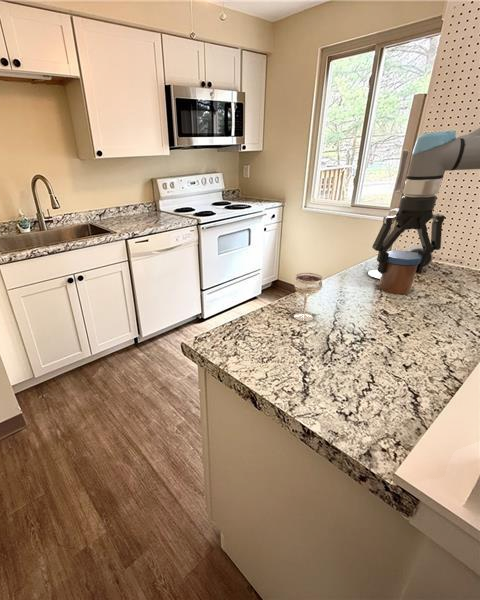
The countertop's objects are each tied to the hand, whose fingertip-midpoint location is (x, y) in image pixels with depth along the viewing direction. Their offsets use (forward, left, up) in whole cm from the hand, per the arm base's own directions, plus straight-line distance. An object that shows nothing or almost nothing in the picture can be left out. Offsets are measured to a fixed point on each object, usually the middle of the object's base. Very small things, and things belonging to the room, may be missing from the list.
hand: (398, 272), depth 94 cm
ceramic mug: (+12, -21, -6) cm, 25 cm away
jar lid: (0, 0, +5) cm, 5 cm away
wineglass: (-4, +36, -6) cm, 37 cm away
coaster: (+9, -7, -6) cm, 13 cm away
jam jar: (0, 0, -6) cm, 6 cm away
